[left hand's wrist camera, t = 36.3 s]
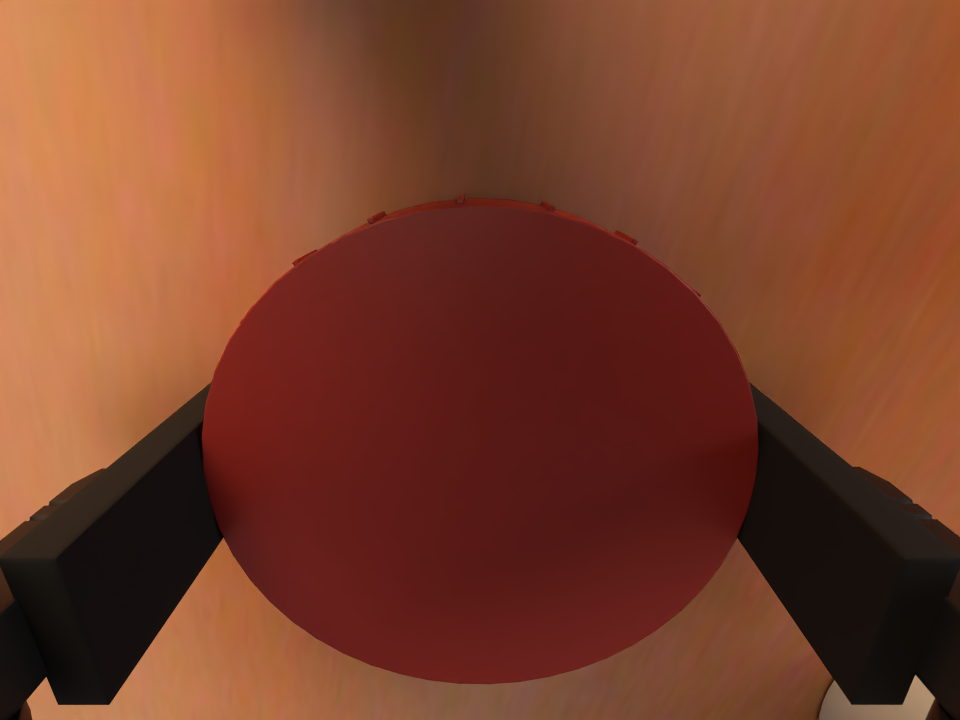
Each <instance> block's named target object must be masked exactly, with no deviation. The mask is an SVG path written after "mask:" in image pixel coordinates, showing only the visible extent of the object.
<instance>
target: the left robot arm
mask: <svg viewBox="0 0 960 720" xmlns="http://www.w3.org/2000/svg"><path fill="white" fill-rule="evenodd" d="M211 383H212V382H211ZM211 383H210V384H209V385H208V386H206V387H205V388H204V389H203V390H202V391H200V392H199V393H198V394H197V395H195V396H194V397H193V398H192V399H191V400H189V401H188V402H187V403H186V404H184V405H183V406H182V407H181V408H180V409H178V410H177V411H176V412H175V413H174V414H172V415H171V416H170V417H169V418H167V419H166V420H165V421H164V422H163V423H161V424H160V425H159V426H158V427H157V428H155V429H154V430H153V431H152V432H150V433H149V434H148V435H147V436H146V437H144V438H143V439H142V440H141V441H139V442H138V443H137V444H136V445H135V446H133V447H132V448H131V449H130V450H129V451H127V452H126V453H125V454H124V455H122V456H121V457H120V458H119V459H118V460H116V461H115V462H114V463H113V464H111V465H110V466H109V467H108V468H107V469H100V470H98V471H96V472H94V473H93V474H91V475H89V476H87V477H85V478H83V479H81V480H79V481H77V482H75V483H73V484H71V485H70V486H69V487H68V488H66V489H65V490H64V491H63V492H61V493H60V494H59V495H57V496H56V497H55V498H54V499H52V500H51V501H50V502H49V505H48V506H44V507H42V508H41V509H40V510H38V511H37V512H36V513H35V514H33V515H32V516H31V517H30V520H29V521H25V522H23V523H22V524H21V525H19V526H18V527H17V528H16V529H14V530H13V531H12V532H11V533H9V534H8V535H7V536H6V537H4V538H3V539H2V540H1V541H0V720H32V716H31V710H30V708H29V706H28V703H27V701H26V700H27V699H28V698H29V697H30V695H31V694H32V693H33V692H34V691H35V689H36V688H37V687H38V686H39V685H40V683H41V682H42V681H43V680H44V679H45V678H46V677H47V679H48V681H49V684H50V686H51V689H52V691H53V693H54V696H55V698H56V701H57V703H58V705H109V704H110V703H111V701H112V700H113V698H114V697H115V696H116V694H117V693H118V691H119V690H120V688H121V687H122V685H123V684H124V682H125V681H126V679H127V678H128V676H129V675H130V674H131V672H132V671H133V669H134V668H135V666H136V665H137V663H138V662H139V660H140V659H141V657H142V656H143V655H144V653H145V652H146V650H147V649H148V647H149V646H150V644H151V643H152V641H153V640H154V638H155V637H156V635H157V634H158V633H159V631H160V630H161V628H162V627H163V625H164V624H165V622H166V621H167V619H168V618H169V616H170V615H171V614H172V612H173V611H174V609H175V608H176V606H177V605H178V603H179V602H180V600H181V599H182V597H183V596H184V594H185V593H186V592H187V590H188V589H189V587H190V586H191V584H192V583H193V581H194V580H195V578H196V577H197V575H198V574H199V572H200V571H201V570H202V568H203V567H204V565H205V564H206V562H207V561H208V559H209V558H210V556H211V555H212V553H213V552H214V551H215V549H216V548H217V546H218V545H219V543H220V542H221V540H222V539H223V535H222V533H221V531H220V529H219V527H218V524H217V521H216V518H215V515H214V512H213V509H212V505H211V502H210V497H209V493H208V488H207V483H206V479H205V474H204V469H203V455H202V431H203V422H204V414H205V405H206V401H207V397H208V394H209V390H210V387H211ZM749 384H750V388H751V392H752V397H753V402H754V406H755V411H756V416H757V428H758V447H759V452H758V462H757V471H756V478H755V483H754V487H753V492H752V496H751V500H750V505H749V509H748V512H747V514H746V517H745V519H744V522H743V524H742V526H741V529H740V531H739V534H738V536H737V538H738V539H739V541H740V542H741V544H742V545H743V547H744V548H745V550H746V551H747V552H748V554H749V555H750V557H751V558H752V560H753V561H754V563H755V564H756V566H757V567H758V569H759V570H760V572H761V573H762V574H763V576H764V577H765V579H766V580H767V582H768V583H769V585H770V586H771V588H772V589H773V591H774V592H775V593H776V595H777V596H778V598H779V599H780V601H781V602H782V604H783V605H784V607H785V608H786V610H787V611H788V613H789V614H790V615H791V617H792V618H793V620H794V621H795V623H796V624H797V626H798V627H799V629H800V630H801V632H802V633H803V635H804V636H805V637H806V639H807V640H808V642H809V643H810V645H811V646H812V648H813V649H814V651H815V652H816V654H817V655H818V656H819V658H820V659H821V661H822V662H823V664H824V665H825V667H826V668H827V670H828V671H829V673H830V674H831V676H832V677H833V678H834V680H835V681H836V683H837V684H838V686H839V687H840V689H841V690H842V692H843V693H844V695H845V696H846V697H847V699H848V700H849V702H850V703H851V705H903V703H904V700H905V698H906V696H907V693H908V691H909V688H910V686H911V684H912V681H913V679H914V677H915V675H916V676H917V677H918V678H919V680H920V681H921V682H922V683H923V684H924V685H925V687H926V688H927V689H928V690H929V691H930V693H931V694H932V695H933V696H934V697H935V699H934V701H933V703H932V706H931V708H930V710H929V712H928V714H927V717H926V719H925V720H960V537H959V536H957V535H956V534H955V533H954V532H952V531H951V530H950V529H948V528H947V527H946V526H945V525H943V524H942V523H941V522H940V521H938V520H937V519H932V515H931V514H929V513H928V512H927V511H926V510H924V509H923V508H922V507H920V506H919V505H918V504H913V502H912V500H911V499H910V498H909V497H908V496H906V495H905V494H904V493H903V492H901V491H900V490H899V489H897V488H896V487H895V486H894V485H892V484H891V483H890V482H888V481H886V480H884V479H882V478H880V477H878V476H876V475H874V474H872V473H870V472H868V471H866V470H864V469H862V468H860V467H852V466H850V465H849V464H848V463H847V462H846V461H844V460H843V459H842V458H841V457H840V456H838V455H837V454H836V453H835V452H833V451H832V450H831V449H830V448H829V447H827V446H826V445H825V444H824V443H822V442H821V441H820V440H819V439H818V438H816V437H815V436H814V435H813V434H812V433H810V432H809V431H808V430H807V429H805V428H804V427H803V426H802V425H801V424H799V423H798V422H797V421H796V420H794V419H793V418H792V417H791V416H790V415H788V414H787V413H786V412H785V411H784V410H782V409H781V408H780V407H779V406H777V405H776V404H775V403H774V402H773V401H771V400H770V399H769V398H768V397H766V396H765V395H764V394H763V393H762V392H760V391H759V390H758V389H757V388H756V387H754V386H753V385H752V384H751V383H749Z"/></svg>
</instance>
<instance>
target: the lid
mask: <svg viewBox="0 0 960 720" xmlns="http://www.w3.org/2000/svg"><path fill="white" fill-rule="evenodd" d="M367 220H368V223H366V224H364V225H362V226H360V227H358V228H356V229H354V230H352V231H351V232H349V233H347V234H345V235H343V236H341V237H340V238H338V239H336V240H334V241H333V242H331V243H329V244H328V245H326V246H324V247H322V248H321V249H319V250H314V251H312V252H310V253H308V254H306V255H304V256H303V257H301V258H299V259H297V260H295V261H294V262H293V263H292V264H293V265H294V267H293V268H292V269H291V270H289V271H288V272H287V273H286V274H284V275H283V276H282V277H281V278H279V279H278V280H277V281H276V282H275V283H274V284H273V285H272V286H271V287H270V288H269V289H268V290H267V291H266V292H265V294H264V295H263V296H262V297H261V298H260V299H259V300H258V301H257V302H256V303H255V304H254V305H253V306H252V308H251V309H250V310H249V311H248V313H247V314H246V316H245V317H244V319H242V321H241V322H240V325H239V326H238V328H237V329H236V331H235V332H234V334H233V335H232V337H231V338H230V340H229V342H228V344H227V346H226V348H225V350H224V353H223V355H222V357H221V359H220V361H219V363H218V366H217V368H216V370H215V373H214V376H213V380H212V383H211V387H210V390H209V394H208V397H207V401H206V405H205V414H204V422H203V431H202V455H203V469H204V474H205V479H206V483H207V488H208V493H209V497H210V502H211V505H212V509H213V512H214V515H215V518H216V521H217V524H218V527H219V529H220V531H221V533H222V535H223V537H224V539H225V541H226V543H227V544H228V546H229V548H230V550H231V552H232V554H233V556H234V557H235V559H236V560H237V562H238V563H239V564H240V566H241V567H242V569H243V570H244V572H245V573H246V575H247V576H248V577H249V579H250V580H251V581H252V582H253V583H254V585H255V586H256V587H257V588H258V589H259V590H260V591H261V592H262V593H263V595H264V596H265V597H266V598H267V599H268V600H269V601H270V602H271V603H272V604H273V605H274V606H275V607H276V608H278V609H279V610H280V611H281V612H282V613H283V614H284V615H286V616H287V617H288V618H289V619H290V620H291V621H292V622H294V623H295V624H297V625H298V626H299V627H301V628H302V629H304V630H305V631H307V632H308V633H309V634H311V635H312V636H314V637H315V638H317V639H318V640H320V641H322V642H324V643H326V644H327V645H329V646H331V647H333V648H335V649H336V650H338V651H340V652H342V653H344V654H346V655H349V656H351V657H353V658H356V659H358V660H360V661H363V662H365V663H367V664H370V665H373V666H376V667H379V668H382V669H385V670H389V671H392V672H395V673H398V674H402V675H407V676H412V677H416V678H421V679H426V680H432V681H441V682H450V683H459V684H497V683H511V682H521V681H527V680H533V679H539V678H545V677H550V676H554V675H558V674H561V673H565V672H569V671H573V670H576V669H579V668H582V667H585V666H587V665H590V664H593V663H595V662H598V661H601V660H603V659H606V658H608V657H610V656H612V655H614V654H616V653H618V652H620V651H622V650H624V649H626V648H628V647H630V646H632V645H634V644H635V643H637V642H639V641H640V640H642V639H643V638H645V637H646V636H648V635H650V634H651V633H653V632H654V631H656V630H657V629H659V628H660V627H661V626H663V625H664V624H665V623H666V622H668V621H669V620H670V619H671V618H673V617H674V616H675V615H676V614H678V613H679V612H680V611H681V610H682V609H683V608H684V607H685V606H686V605H687V604H688V603H689V602H690V601H691V600H692V599H693V598H694V597H695V596H696V595H697V594H698V593H699V592H700V591H701V590H702V589H703V588H704V587H705V585H706V584H707V583H708V581H709V580H710V579H711V578H712V576H713V575H714V574H715V572H716V571H717V570H718V568H719V567H720V566H721V564H722V563H723V561H724V559H725V558H726V556H727V554H728V552H729V551H730V549H731V547H732V546H733V544H734V542H735V540H736V539H737V536H738V534H739V531H740V529H741V526H742V524H743V522H744V519H745V517H746V514H747V512H748V509H749V505H750V500H751V496H752V492H753V487H754V483H755V478H756V471H757V462H758V452H759V447H758V428H757V416H756V411H755V406H754V402H753V397H752V392H751V388H750V384H749V381H748V378H747V376H746V373H745V371H744V368H743V366H742V363H741V360H740V358H739V355H738V353H737V351H736V349H735V347H734V346H733V344H732V342H731V341H730V339H729V337H728V335H727V334H726V332H725V330H724V329H723V327H722V325H721V323H720V322H719V320H718V319H717V318H716V317H715V316H714V314H713V313H712V312H711V311H710V309H709V308H708V307H707V306H706V305H705V303H704V302H703V301H702V300H701V298H700V296H701V295H700V294H699V293H698V292H697V291H695V290H693V289H692V288H690V287H689V286H688V285H687V284H686V283H685V282H684V281H682V280H681V279H680V278H679V277H678V276H677V275H676V274H675V273H674V272H672V271H671V270H670V269H669V268H668V267H667V266H665V265H664V264H662V263H661V262H659V261H658V260H656V259H655V258H653V257H652V256H650V255H649V254H647V253H646V252H644V251H643V250H641V249H640V248H638V247H637V246H635V245H636V244H637V242H638V241H636V240H635V239H633V238H631V237H629V236H627V235H625V234H623V233H621V232H619V231H617V230H616V232H615V233H612V232H610V231H608V230H606V229H604V228H601V227H599V226H597V225H595V224H593V223H591V222H589V221H587V220H585V219H583V218H580V217H578V216H575V215H572V214H569V213H566V212H563V211H559V210H556V209H555V207H554V206H553V205H551V204H549V203H548V202H545V201H541V205H538V204H532V203H526V202H520V201H514V200H508V199H478V198H467V199H465V194H460V195H459V196H458V198H457V200H449V201H439V202H431V203H427V204H423V205H419V206H415V207H411V208H407V209H403V210H399V211H396V212H393V213H391V214H388V215H386V213H385V211H383V212H380V213H378V214H376V215H374V216H372V217H370V218H368V219H367Z"/></svg>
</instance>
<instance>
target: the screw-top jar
mask: <svg viewBox="0 0 960 720" xmlns="http://www.w3.org/2000/svg"><path fill="white" fill-rule="evenodd" d="M934 699H935V697H934V696H933V695H932V694H931V693H930V691H929V690H928V689H927V688H926V687H925V685H924V684H923V683H922V682H921V681H920V680H919V678H918V677H917V676H916V675H915V677H914V679H913V681H912V684H911V686H910V688H909V691H908V693H907V696H906V698H905V700H904V703H903V705H851V703H850V702H849V700H848V699H847V697H846V696H845V695H844V693H843V692H842V690H841V689H840V687H839V686H838V684H837V683H836V681H835V680H834V681H833V683H832V684H831V686H830V688H829V689H828V691H827V693H826V696H825V698H824V700H823V703H822V706H821V710H820V714H819V720H925V719H926V717H927V714H928V712H929V710H930V708H931V706H932V703H933V701H934Z"/></svg>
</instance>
